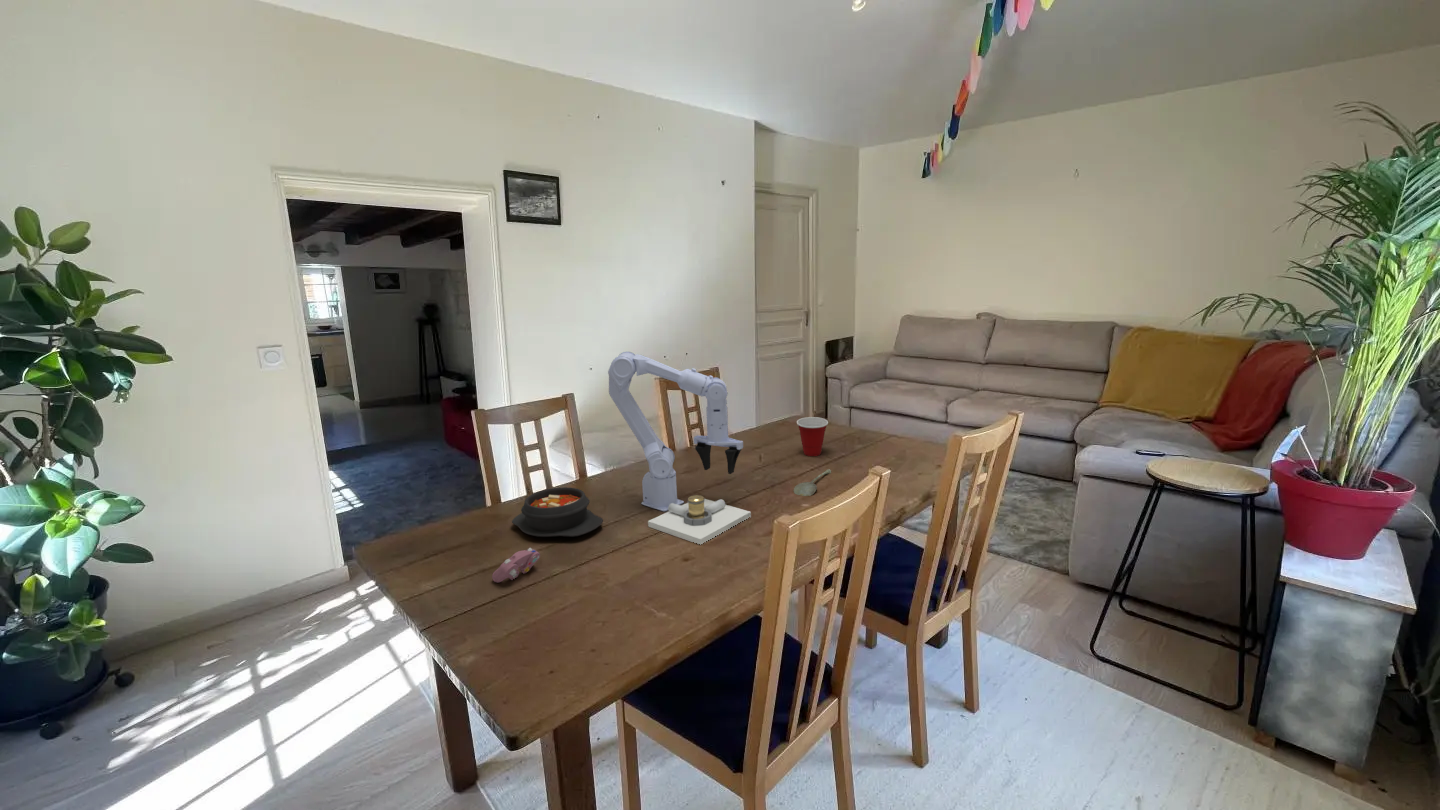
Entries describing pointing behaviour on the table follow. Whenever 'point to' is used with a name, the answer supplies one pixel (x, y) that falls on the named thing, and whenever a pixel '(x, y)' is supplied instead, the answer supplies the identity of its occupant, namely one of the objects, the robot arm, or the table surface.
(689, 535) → the shaft base
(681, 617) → the table surface
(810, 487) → the soupspoon
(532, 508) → the casserole
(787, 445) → the table surface
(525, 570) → the video game controller
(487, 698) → the table surface
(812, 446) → the plastic cup
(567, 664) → the table surface
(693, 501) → the salt shaker
